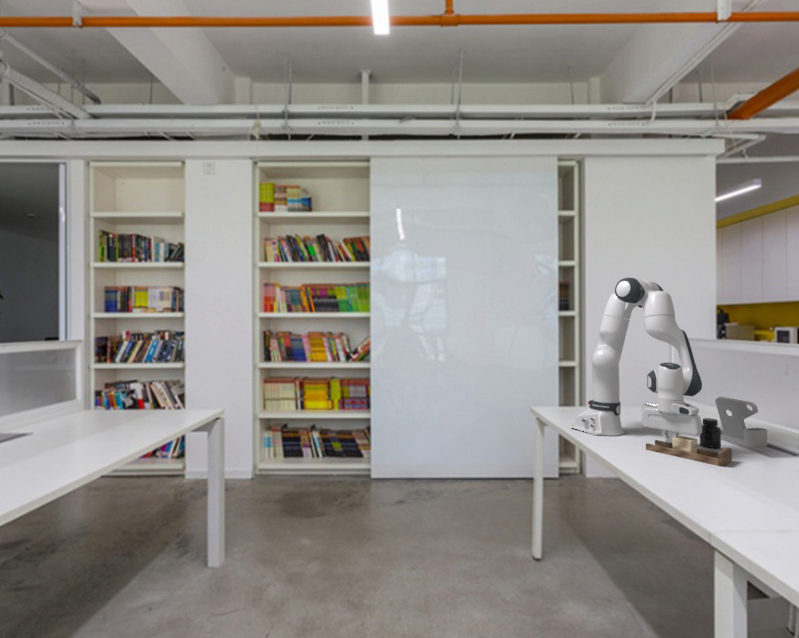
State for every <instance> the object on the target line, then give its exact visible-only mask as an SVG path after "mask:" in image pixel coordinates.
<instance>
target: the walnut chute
mask: <svg viewBox="0 0 799 638" xmlns="http://www.w3.org/2000/svg"><path fill="white" fill-rule="evenodd" d="M645 451H650V452H655V453H660V454H664V455H668V456H673V457H677V458H680V459H681V458H682V459H687V460H691V461H694V462H700V463H703V464H704V463H705V464H709V465H713V466H717V467H725V466H727V465H729V464H730V463H732V461H733V460H732V458H733V457H732V452H733V451H732V447H725V448H723V449H722V450H721V449H720V450H719V451H718V452H717V451H712V450H707V449H703V448H698V447H697V454H695V453H691V452H686V451H681V450H676V449H673V444H672V443H667V442H665V440H658V439H654V444H652V443H645Z"/></svg>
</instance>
